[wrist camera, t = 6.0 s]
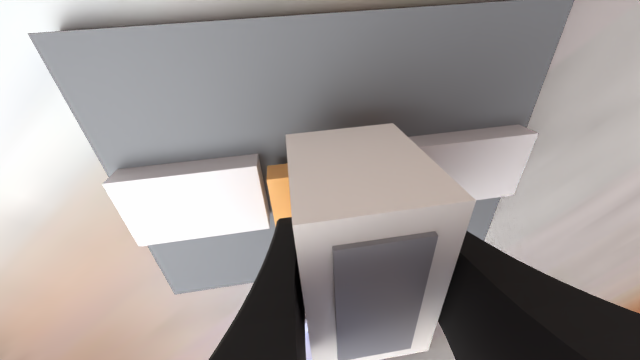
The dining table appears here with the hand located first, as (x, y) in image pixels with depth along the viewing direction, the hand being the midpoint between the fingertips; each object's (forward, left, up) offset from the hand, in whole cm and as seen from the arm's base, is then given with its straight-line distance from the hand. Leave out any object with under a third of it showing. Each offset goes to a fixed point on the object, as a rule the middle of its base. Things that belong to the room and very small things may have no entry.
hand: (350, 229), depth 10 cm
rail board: (0, 0, -5) cm, 5 cm away
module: (0, 0, -2) cm, 2 cm away
